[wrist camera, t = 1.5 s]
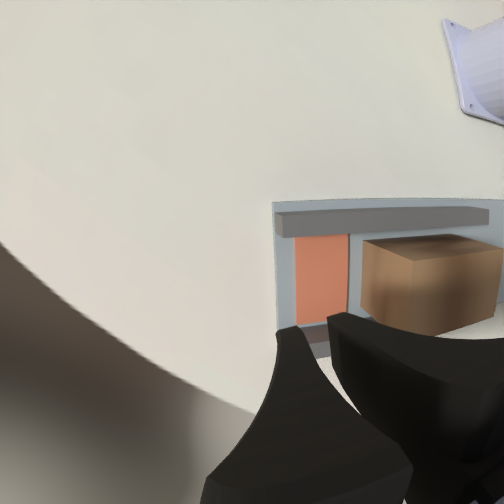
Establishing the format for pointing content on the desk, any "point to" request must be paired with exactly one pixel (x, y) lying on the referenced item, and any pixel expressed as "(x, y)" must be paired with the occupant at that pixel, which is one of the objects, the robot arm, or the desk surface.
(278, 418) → the robot arm
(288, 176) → the desk surface
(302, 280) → the trough
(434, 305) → the walnut block
